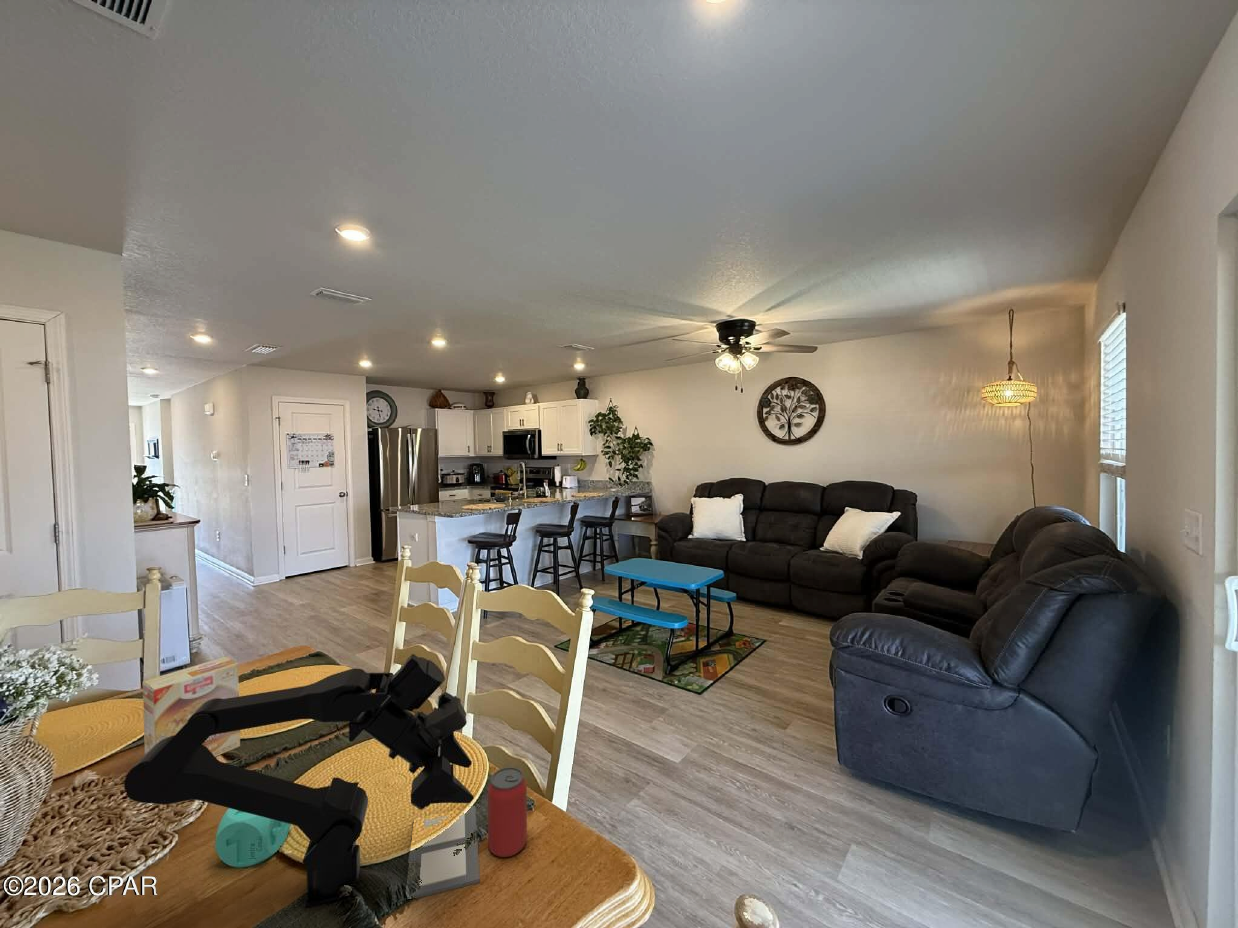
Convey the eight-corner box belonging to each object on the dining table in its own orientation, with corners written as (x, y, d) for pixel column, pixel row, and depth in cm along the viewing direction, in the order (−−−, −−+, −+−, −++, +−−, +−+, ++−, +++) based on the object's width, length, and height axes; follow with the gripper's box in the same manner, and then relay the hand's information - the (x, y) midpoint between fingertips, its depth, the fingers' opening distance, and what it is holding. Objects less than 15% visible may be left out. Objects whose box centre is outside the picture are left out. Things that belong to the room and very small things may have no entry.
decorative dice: (215, 869, 83) (213, 822, 82) (247, 831, 91) (246, 788, 90) (266, 867, 83) (264, 819, 83) (294, 829, 91) (293, 786, 91)
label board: (404, 901, 77) (404, 896, 77) (413, 821, 93) (413, 817, 93) (479, 882, 80) (479, 877, 80) (475, 808, 97) (475, 804, 97)
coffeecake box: (156, 783, 103) (152, 689, 103) (144, 771, 107) (140, 680, 106) (241, 746, 116) (239, 662, 115) (228, 736, 120) (225, 655, 119)
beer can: (517, 862, 84) (517, 792, 84) (481, 855, 86) (480, 786, 85) (532, 832, 91) (532, 767, 90) (498, 826, 92) (497, 762, 92)
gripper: (433, 718, 75) (510, 776, 78) (437, 665, 92) (500, 714, 96) (375, 782, 72) (457, 838, 76) (391, 714, 90) (457, 763, 94)
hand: (470, 781), depth 86 cm, fingers open, 9 cm apart
